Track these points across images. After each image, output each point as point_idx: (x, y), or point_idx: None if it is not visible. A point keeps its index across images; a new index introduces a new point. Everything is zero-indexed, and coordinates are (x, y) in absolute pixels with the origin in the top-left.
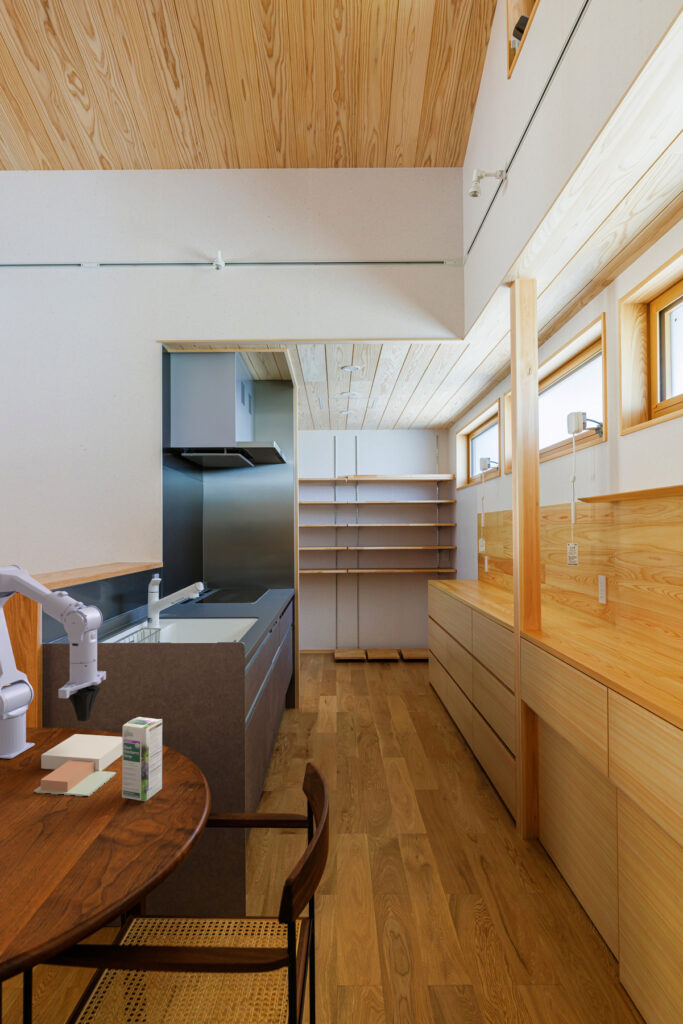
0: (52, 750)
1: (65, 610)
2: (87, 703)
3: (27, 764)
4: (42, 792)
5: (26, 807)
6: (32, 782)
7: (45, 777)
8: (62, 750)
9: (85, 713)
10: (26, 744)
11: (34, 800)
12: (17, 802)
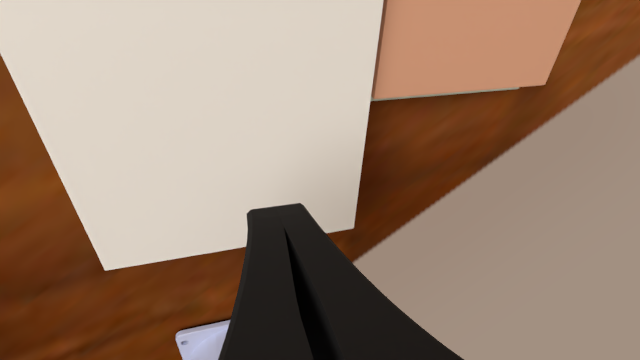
0: None
1: None
2: (406, 340)
3: None
4: None
5: (610, 34)
6: (437, 145)
7: (528, 80)
8: (302, 188)
9: (338, 251)
10: (195, 345)
11: (570, 42)
12: (565, 89)
